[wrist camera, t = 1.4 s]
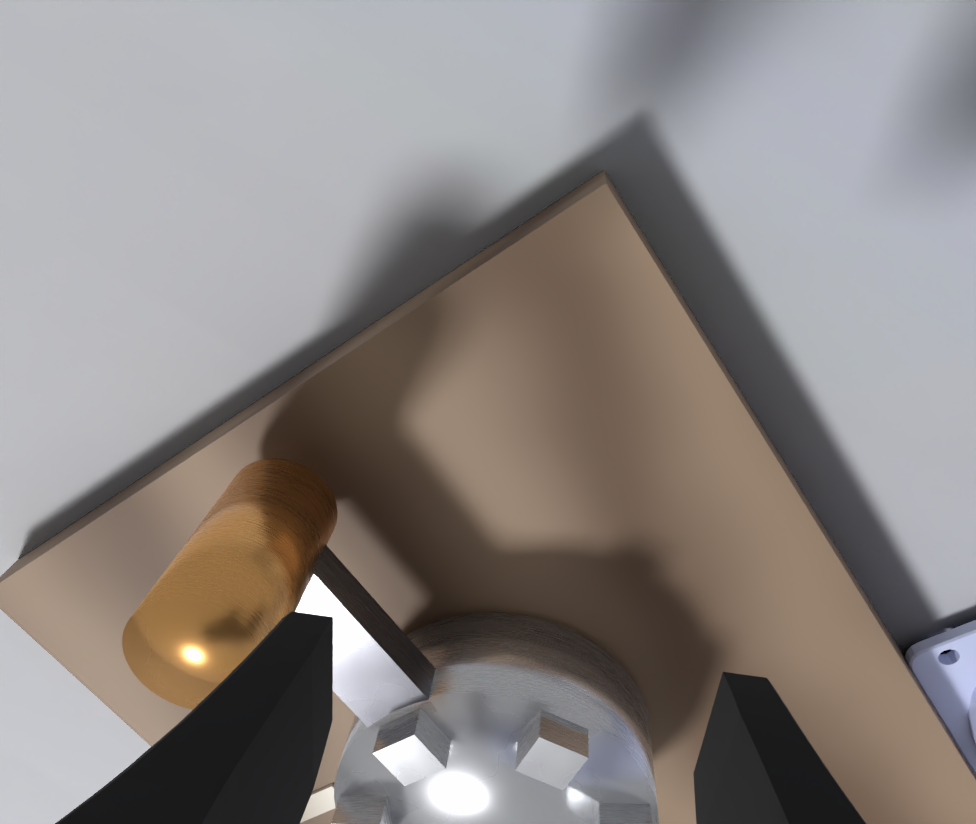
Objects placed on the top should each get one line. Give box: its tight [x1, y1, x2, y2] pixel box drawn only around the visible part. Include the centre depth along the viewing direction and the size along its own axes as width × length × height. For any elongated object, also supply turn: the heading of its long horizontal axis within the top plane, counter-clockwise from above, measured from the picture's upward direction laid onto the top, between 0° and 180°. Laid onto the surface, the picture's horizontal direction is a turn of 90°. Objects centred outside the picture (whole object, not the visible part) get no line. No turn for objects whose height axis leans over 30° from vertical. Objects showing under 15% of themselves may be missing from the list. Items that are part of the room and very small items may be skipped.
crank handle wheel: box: [122, 458, 659, 824], centre depth 19 cm, size 14×8×6 cm, turn 35°
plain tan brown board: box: [0, 170, 976, 824], centre depth 24 cm, size 21×22×2 cm
